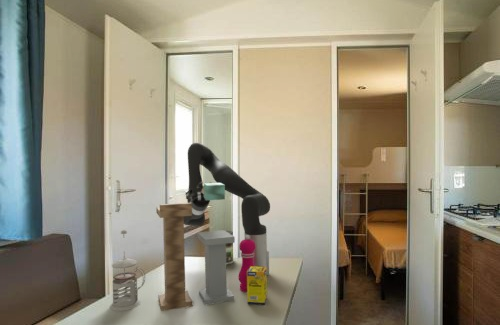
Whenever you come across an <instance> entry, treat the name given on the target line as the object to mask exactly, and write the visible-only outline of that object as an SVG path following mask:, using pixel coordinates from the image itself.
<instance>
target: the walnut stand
mask: <svg viewBox="0 0 500 325" xmlns="http://www.w3.org/2000/svg"><path fill="white" fill-rule="evenodd" d="M155 209H156V212H155V213H156V214H157V216H158V217H159V218H160V219H162V220H163V222H162V224H163V226H162V227H163V260H164V261H163V264H164V265H163V266H164V270H163V271H164V294H159V295H158V302H159V303H158V304H159V306H160V310H161V311H169V309H170V310H175V309H180V308H181V309H182V308H187V307H188V308H189V307H193V304H194V301H193V299H192V298H191V295H190V293H189V291H188V290H186V267H185V266H186V265H185V263H186V262H185V224H184V216H192V203H188V202H182V203H167V204H166V203H165V204H159V206H156V208H155Z"/></svg>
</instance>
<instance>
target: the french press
mask: <svg viewBox="0 0 500 325" xmlns="http://www.w3.org/2000/svg"><path fill="white" fill-rule="evenodd" d="M120 234H121V235H123V236H122V237H125V235H126V234H128V232H127V230H125V229H122V230H121V231H120ZM125 254H126V253H125V252H123V258H120V259H119V260H116V261H114V262H113V263H111V267H112V268H113V269H123V272H119V273H116V274H115V275H113V280H112V302H111V304H110V306H109V309H111V310H112V311H126V310H130V309H134V308H136V307H138V306H139V305H141V301H140V300H139V298H138V294H139V293H138V290H140V289H141V288H142V287H143V286H144V284H145V282H146V273H145V271H144V269H142V267H139V266H136V265H137V263H138V261H137V260H135V259H132V258H129V257H128V258H126V257H125ZM134 266H136V267H135V268H134V272H133V271H132V272H131V271H129V272H128V271H127V272H126V270H125V269H126V268H132V267H134ZM137 271H138V272H140V273H141V276H142V283H141V285H140V286H139V287H138V278H137V277H136V276H137V274H136V273H137ZM127 281H128V282H127ZM121 288H122V289H121Z"/></svg>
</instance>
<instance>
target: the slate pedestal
mask: <svg viewBox="0 0 500 325" xmlns="http://www.w3.org/2000/svg"><path fill="white" fill-rule="evenodd" d="M226 231H227V230H225V229H223V230H222V229H221V230H212V231H211V230H210V231H198V232H196V235H197V236H196V237H197V239H198V240H199V241H200V242H201V243H202V244H203V245H204V266H205V267H204V268H205V269H204V270H205V273H204V274H205V277H204V278H205V289H200V290H199V291H198V294H199V295H198V296H199V297H200V298H201V300H202V302H203V304H204V305H205V306H206V305H207V306H208V305H213V304H219V303H220V304H221V303H226V302H231V301H235V295H234V294H233V293H232V292H231V290H229V288H228V287H227V283H228V282H227V265H226V243H233V244H235V240H236V239H235V236H234V235H231V234H229V233H228V232H226Z"/></svg>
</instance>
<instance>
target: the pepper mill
mask: <svg viewBox="0 0 500 325" xmlns="http://www.w3.org/2000/svg"><path fill="white" fill-rule="evenodd" d="M249 238H250V237H249V235H246V236H245V235H244V239H242V240H241V241H240V242H239V245H238V248H239V250H240V251H241V252H240V257H241V259H242V260H241V262H242V263H241V267H240V270H239V272H238V277H237V278H238V281H239V282H240V284H239V290H240V291H241V292H243V293H247V271H248V269H249V268H250V267H251V266H254V263H253V257H254V252H253V251H254V250H255V247H256V246H255V243H254V241H253V240H251V239H249Z"/></svg>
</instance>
